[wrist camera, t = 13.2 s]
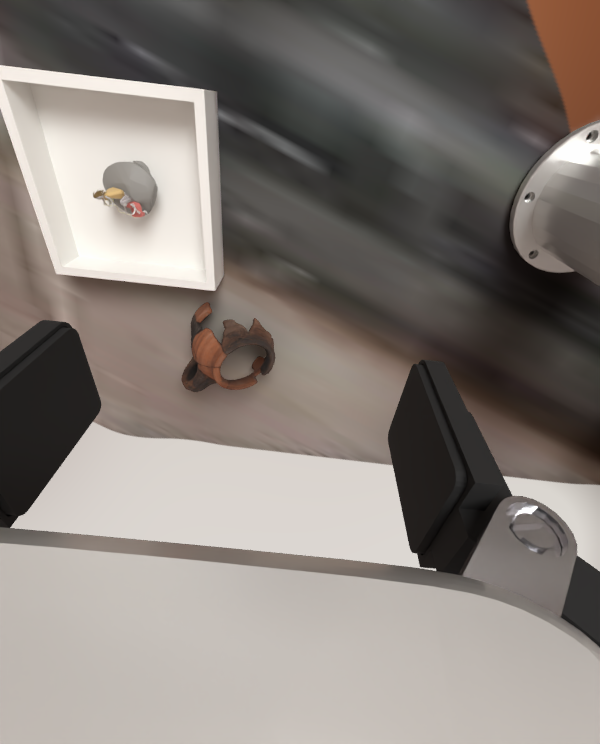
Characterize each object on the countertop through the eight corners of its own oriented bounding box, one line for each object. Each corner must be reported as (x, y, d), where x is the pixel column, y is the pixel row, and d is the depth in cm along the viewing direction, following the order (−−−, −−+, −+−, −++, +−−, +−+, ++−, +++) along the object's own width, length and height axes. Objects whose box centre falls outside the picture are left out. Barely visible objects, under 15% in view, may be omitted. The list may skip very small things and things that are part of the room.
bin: (217, 91, 29) (204, 89, 25) (224, 275, 38) (215, 290, 35) (23, 68, 28) (-15, 63, 25) (78, 259, 38) (56, 273, 34)
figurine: (147, 147, 30) (106, 163, 26) (176, 199, 33) (144, 222, 28) (103, 170, 32) (58, 188, 28) (134, 218, 34) (98, 242, 30)
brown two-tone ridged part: (216, 276, 39) (241, 319, 34) (270, 314, 46) (298, 353, 41) (152, 353, 41) (166, 402, 36) (212, 377, 49) (232, 421, 44)
